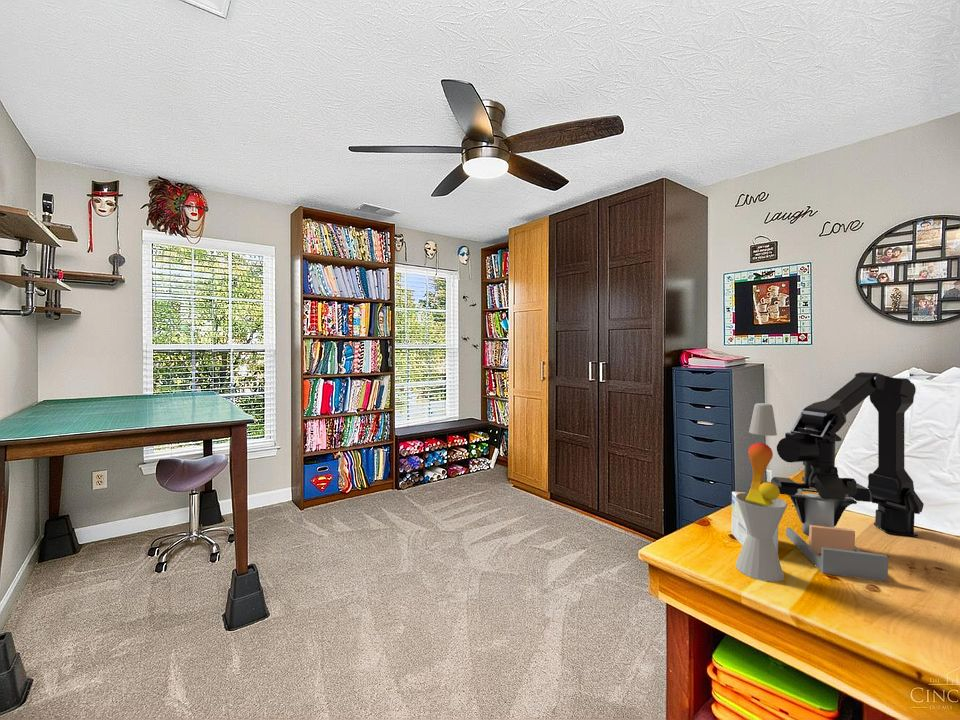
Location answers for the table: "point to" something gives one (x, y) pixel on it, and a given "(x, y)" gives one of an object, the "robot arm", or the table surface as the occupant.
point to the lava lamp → (761, 506)
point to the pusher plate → (831, 538)
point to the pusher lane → (844, 560)
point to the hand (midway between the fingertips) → (817, 524)
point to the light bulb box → (743, 524)
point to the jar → (817, 512)
